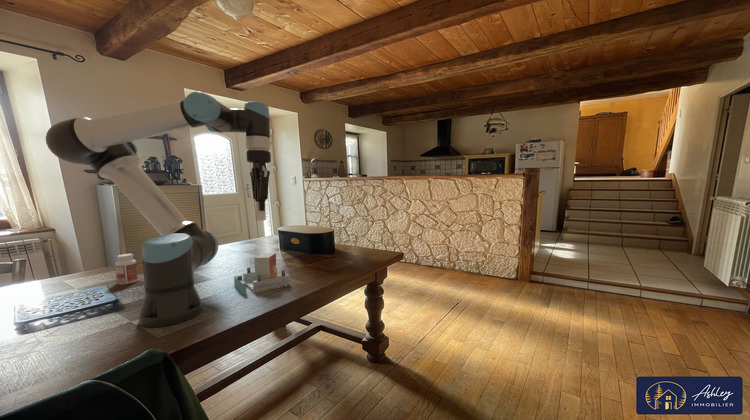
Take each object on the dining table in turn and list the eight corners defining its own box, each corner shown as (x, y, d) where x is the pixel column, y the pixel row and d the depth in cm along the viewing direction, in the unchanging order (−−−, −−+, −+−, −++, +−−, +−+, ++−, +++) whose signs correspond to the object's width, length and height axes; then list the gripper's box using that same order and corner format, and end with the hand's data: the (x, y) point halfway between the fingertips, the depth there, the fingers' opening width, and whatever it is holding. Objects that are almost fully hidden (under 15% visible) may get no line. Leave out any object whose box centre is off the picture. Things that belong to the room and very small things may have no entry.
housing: (255, 293, 99) (254, 277, 99) (242, 282, 111) (242, 267, 110) (290, 285, 108) (289, 270, 107) (275, 276, 119) (275, 262, 119)
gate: (242, 294, 98) (241, 280, 98) (234, 286, 107) (233, 273, 106) (247, 293, 99) (246, 279, 99) (238, 285, 108) (238, 272, 107)
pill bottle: (137, 278, 116) (135, 252, 115) (137, 282, 111) (135, 255, 110) (117, 281, 112) (115, 254, 111) (116, 286, 107) (114, 257, 106)
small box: (270, 285, 105) (269, 257, 104) (255, 285, 105) (254, 257, 104) (277, 278, 113) (276, 252, 112) (263, 278, 113) (262, 252, 112)
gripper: (277, 149, 92) (279, 221, 94) (263, 153, 102) (265, 217, 104) (253, 147, 87) (255, 223, 89) (241, 151, 97) (244, 219, 99)
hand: (261, 220), depth 96 cm, fingers closed
